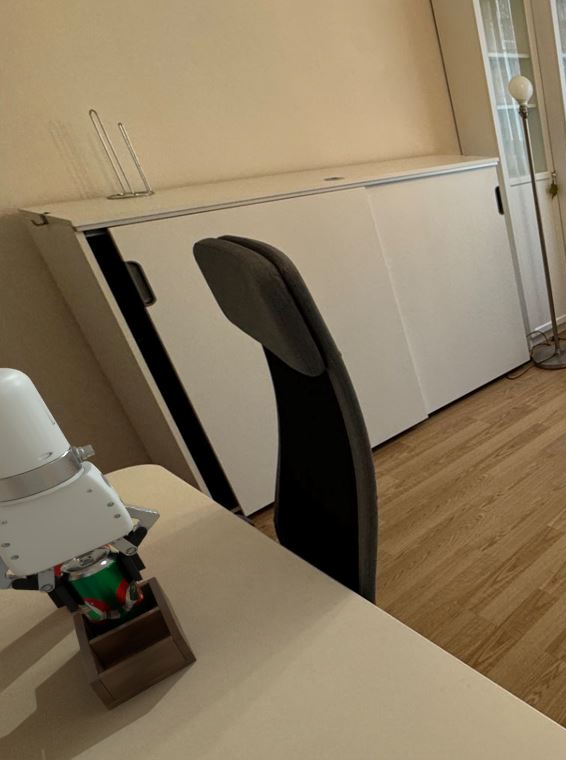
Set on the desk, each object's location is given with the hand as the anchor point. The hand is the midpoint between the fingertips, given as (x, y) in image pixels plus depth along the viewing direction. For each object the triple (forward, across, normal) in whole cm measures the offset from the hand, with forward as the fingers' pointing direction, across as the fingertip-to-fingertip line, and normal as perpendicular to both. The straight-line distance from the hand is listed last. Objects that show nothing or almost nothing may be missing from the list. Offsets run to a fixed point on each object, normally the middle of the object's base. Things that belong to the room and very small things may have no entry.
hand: (105, 589), depth 70 cm
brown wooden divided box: (+8, 0, +4) cm, 9 cm away
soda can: (+7, 0, 0) cm, 7 cm away
